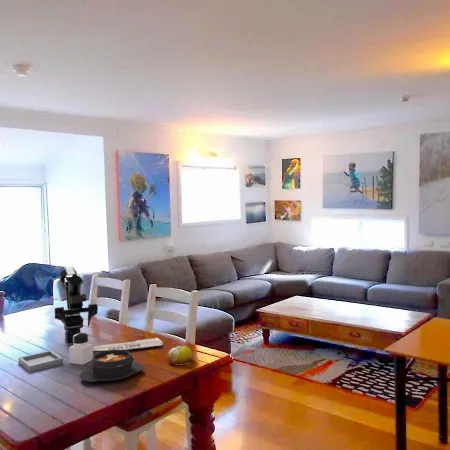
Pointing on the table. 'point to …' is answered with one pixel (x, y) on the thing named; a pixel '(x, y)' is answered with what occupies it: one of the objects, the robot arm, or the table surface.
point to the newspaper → (128, 345)
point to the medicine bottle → (81, 349)
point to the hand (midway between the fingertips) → (78, 327)
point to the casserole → (111, 366)
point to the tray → (40, 361)
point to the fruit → (179, 355)
